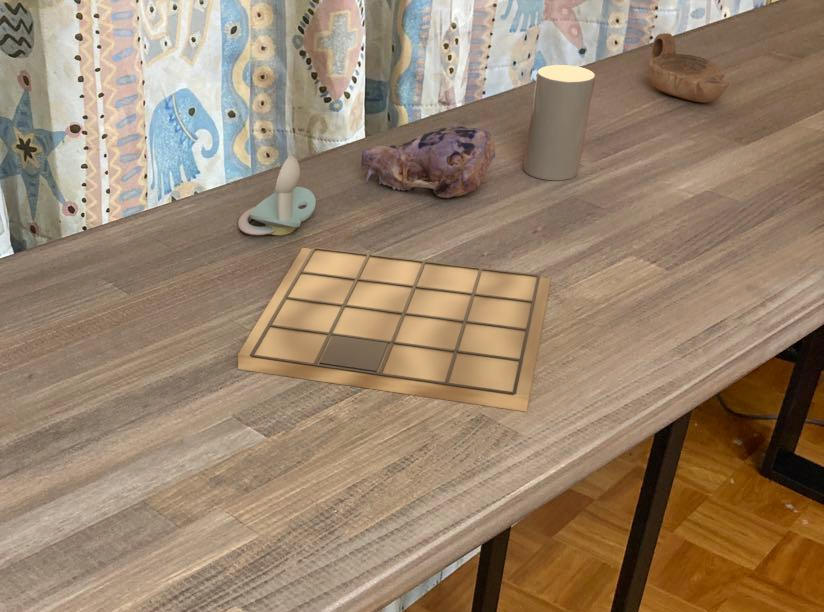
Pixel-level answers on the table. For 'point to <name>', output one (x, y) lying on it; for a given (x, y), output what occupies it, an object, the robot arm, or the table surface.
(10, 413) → the table surface
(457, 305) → the board
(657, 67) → the oil lamp
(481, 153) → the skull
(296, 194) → the pacifier
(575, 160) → the grey upright cylinder
